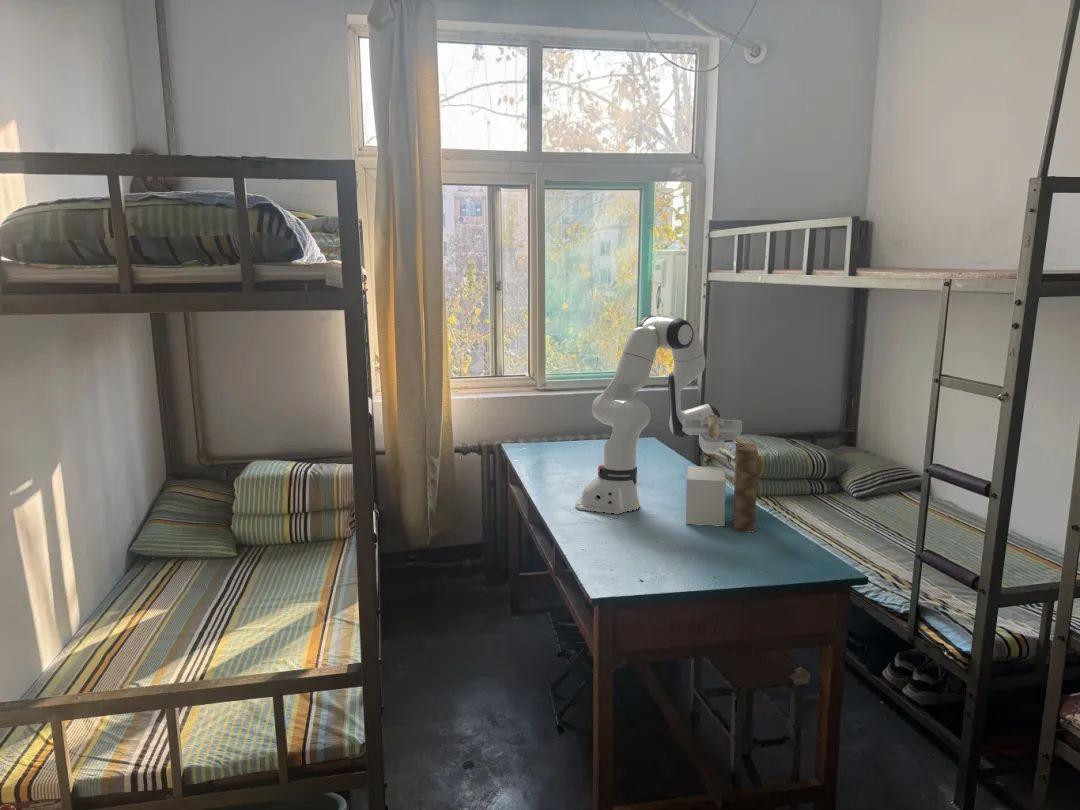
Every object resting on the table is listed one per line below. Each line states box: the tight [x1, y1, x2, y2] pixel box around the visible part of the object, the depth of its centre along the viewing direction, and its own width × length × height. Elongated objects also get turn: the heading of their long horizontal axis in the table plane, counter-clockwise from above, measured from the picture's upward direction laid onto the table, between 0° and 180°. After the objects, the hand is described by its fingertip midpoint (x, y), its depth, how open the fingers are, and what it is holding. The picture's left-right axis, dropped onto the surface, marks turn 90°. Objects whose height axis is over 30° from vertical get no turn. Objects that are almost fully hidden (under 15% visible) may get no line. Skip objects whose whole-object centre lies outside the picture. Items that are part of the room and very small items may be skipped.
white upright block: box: [685, 465, 727, 527], centre depth 240 cm, size 12×18×15 cm, turn 168°
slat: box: [708, 415, 719, 436], centre depth 241 cm, size 3×24×2 cm, turn 168°
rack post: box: [732, 442, 759, 533], centre depth 229 cm, size 6×10×26 cm, turn 168°
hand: (712, 419), depth 249 cm, fingers closed on slat, 3 cm apart
